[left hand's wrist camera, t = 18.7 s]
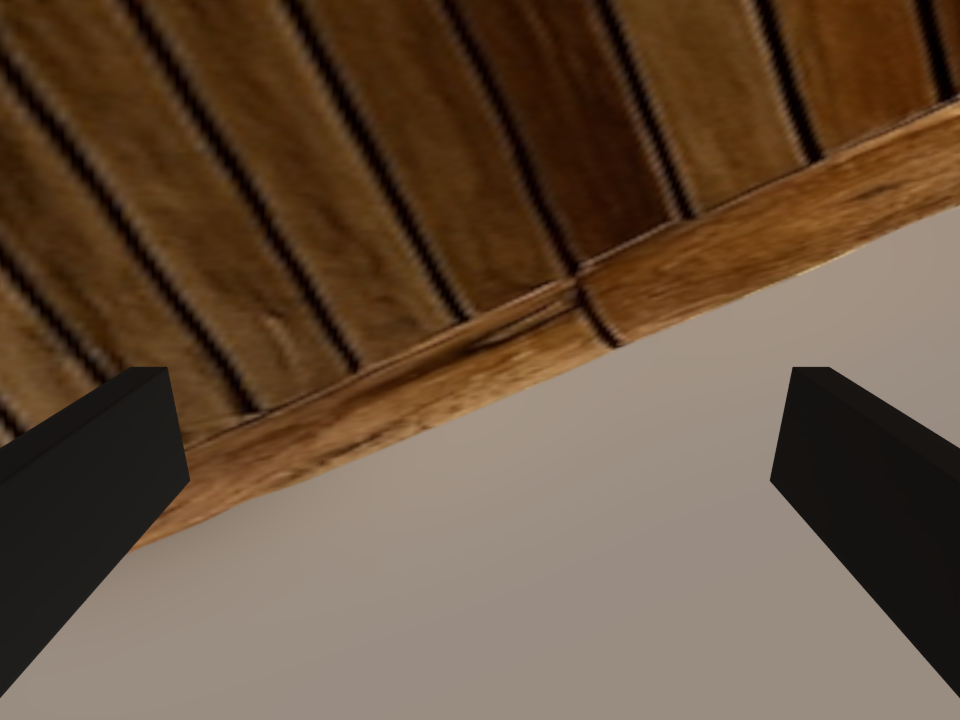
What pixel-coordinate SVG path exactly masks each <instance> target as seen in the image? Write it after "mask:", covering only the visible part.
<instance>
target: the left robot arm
mask: <svg viewBox="0 0 960 720" xmlns="http://www.w3.org/2000/svg"><path fill="white" fill-rule="evenodd" d="M189 482H190V477H189V472H188V467H187V462H186V457H185V452H184V447H183V442H182V437H181V432H180V427H179V423H178V418H177V413H176V408H175V403H174V398H173V393H172V388H171V383H170V378H169V373H168V368H167V367H130V368H128V369H127V370H125V371H123V372H122V373H120V374H119V375H117V376H115V377H114V378H112V379H111V380H109V381H107V382H106V383H104V384H103V385H101V386H99V387H98V388H96V389H95V390H93V391H91V392H90V393H88V394H87V395H85V396H83V397H82V398H80V399H79V400H77V401H75V402H74V403H72V404H71V405H69V406H67V407H66V408H64V409H63V410H61V411H59V412H58V413H56V414H55V415H53V416H51V417H50V418H48V419H47V420H45V421H43V422H42V423H40V424H38V425H37V426H35V427H34V428H32V429H30V430H29V431H27V432H26V433H24V434H22V435H21V436H19V437H18V438H16V439H14V440H13V441H11V442H10V443H8V444H6V445H5V446H3V447H2V448H0V698H1V697H2V695H3V694H4V693H5V692H6V691H7V690H8V689H9V687H10V686H11V685H12V684H13V683H14V682H15V681H16V679H17V678H18V677H19V676H20V675H21V674H22V673H23V671H24V670H25V669H26V668H27V667H28V666H29V665H30V663H31V662H32V661H33V660H34V659H35V658H36V656H37V655H38V654H39V653H40V652H41V651H42V650H43V649H44V647H45V646H46V645H47V644H48V643H49V642H50V640H51V639H52V638H53V637H54V636H55V635H56V634H57V632H58V631H59V630H60V629H61V628H62V627H63V626H64V625H65V623H66V622H67V621H68V620H69V619H70V618H71V616H72V615H73V614H74V613H75V612H76V611H77V610H78V608H79V607H80V606H81V605H82V604H83V603H84V602H85V600H86V599H87V598H88V597H89V596H90V595H91V594H92V592H93V591H94V590H95V589H96V588H97V587H98V586H99V584H100V583H101V582H102V581H103V580H104V579H105V578H106V576H107V575H108V574H109V573H110V572H111V571H112V570H113V568H114V567H115V566H116V565H117V564H118V563H119V562H120V560H121V559H122V558H123V557H124V556H125V555H126V554H127V552H128V551H129V550H130V549H131V548H132V547H133V546H134V544H135V543H136V542H137V541H138V540H139V539H140V538H141V536H142V535H143V534H144V533H145V532H146V531H147V530H148V528H149V527H150V526H151V525H152V524H153V523H154V522H155V520H156V519H157V518H158V517H159V516H160V515H161V514H162V512H163V511H164V510H165V509H166V508H167V507H168V506H169V504H170V503H171V502H172V501H173V500H174V499H175V498H176V496H177V495H178V494H179V493H180V492H181V491H182V490H183V488H184V487H185V486H186V485H187V484H188V483H189ZM770 482H771V483H772V484H773V485H774V486H775V487H776V488H777V490H778V491H779V492H780V493H781V494H782V495H783V496H784V497H785V499H786V500H787V501H788V502H789V503H790V504H791V506H792V507H793V508H794V509H795V510H796V511H797V512H798V514H799V515H800V516H801V517H802V518H803V519H804V520H805V522H806V523H807V524H808V525H809V526H810V527H811V528H812V530H813V531H814V532H815V533H816V534H817V535H818V536H819V538H820V539H821V540H822V541H823V542H824V543H825V544H826V545H827V547H828V548H829V549H830V550H831V551H832V552H833V554H834V555H835V556H836V557H837V558H838V559H839V560H840V562H841V563H842V564H843V565H844V566H845V567H846V568H847V570H848V571H849V572H850V573H851V574H852V575H853V576H854V578H855V579H856V580H857V581H858V582H859V583H860V584H861V586H862V587H863V588H864V589H865V590H866V591H867V592H868V594H869V595H870V596H871V597H872V598H873V599H874V600H875V602H876V603H877V604H878V605H879V606H880V607H881V608H882V610H883V611H884V612H885V613H886V614H887V615H888V617H889V618H890V619H891V620H892V621H893V622H894V623H895V625H896V626H897V627H898V628H899V629H900V630H901V631H902V633H903V634H904V635H905V636H906V637H907V638H908V639H909V640H910V642H911V643H912V644H913V645H914V646H915V647H916V649H917V650H918V651H919V652H920V653H921V654H922V655H923V657H924V658H925V659H926V660H927V661H928V662H929V663H930V665H931V666H932V667H933V668H934V669H935V670H936V671H937V673H938V674H939V675H940V676H941V677H942V678H943V679H944V681H945V682H946V683H947V684H948V685H949V686H950V687H951V689H952V690H953V691H954V692H955V693H956V694H957V695H958V697H959V698H960V448H958V447H957V446H955V445H954V444H952V443H950V442H949V441H947V440H945V439H944V438H942V437H941V436H939V435H938V434H936V433H934V432H933V431H931V430H930V429H928V428H926V427H925V426H923V425H921V424H920V423H918V422H917V421H915V420H913V419H912V418H910V417H909V416H907V415H905V414H904V413H902V412H901V411H899V410H897V409H896V408H894V407H893V406H891V405H889V404H888V403H886V402H885V401H883V400H881V399H880V398H878V397H877V396H875V395H873V394H872V393H870V392H869V391H867V390H865V389H864V388H862V387H861V386H859V385H857V384H856V383H854V382H852V381H851V380H849V379H848V378H846V377H844V376H843V375H841V374H840V373H838V372H836V371H835V370H833V369H832V368H830V367H793V368H792V373H791V378H790V383H789V388H788V393H787V398H786V403H785V408H784V413H783V418H782V423H781V427H780V432H779V437H778V442H777V447H776V452H775V457H774V462H773V467H772V472H771V477H770Z"/></svg>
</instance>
